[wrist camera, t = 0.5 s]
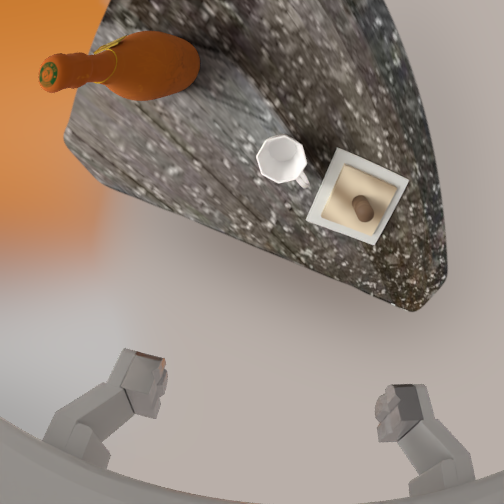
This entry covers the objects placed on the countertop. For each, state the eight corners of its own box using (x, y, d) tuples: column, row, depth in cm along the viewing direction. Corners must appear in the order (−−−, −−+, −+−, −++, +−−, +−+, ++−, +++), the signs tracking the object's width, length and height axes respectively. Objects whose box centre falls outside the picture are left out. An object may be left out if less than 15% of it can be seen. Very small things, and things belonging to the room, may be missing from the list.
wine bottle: (213, 48, 40) (116, 24, 15) (188, 102, 45) (76, 149, 20) (159, 30, 38) (28, 10, 13) (137, 83, 43) (1, 116, 18)
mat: (337, 147, 47) (337, 147, 46) (408, 179, 48) (409, 180, 47) (305, 219, 54) (306, 220, 54) (373, 244, 55) (374, 245, 55)
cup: (286, 117, 45) (286, 124, 38) (323, 165, 49) (329, 181, 42) (251, 142, 48) (245, 155, 41) (289, 188, 52) (289, 208, 45)
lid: (344, 163, 47) (350, 174, 43) (395, 185, 48) (405, 198, 44) (320, 214, 53) (324, 230, 48) (370, 233, 54) (377, 249, 49)
